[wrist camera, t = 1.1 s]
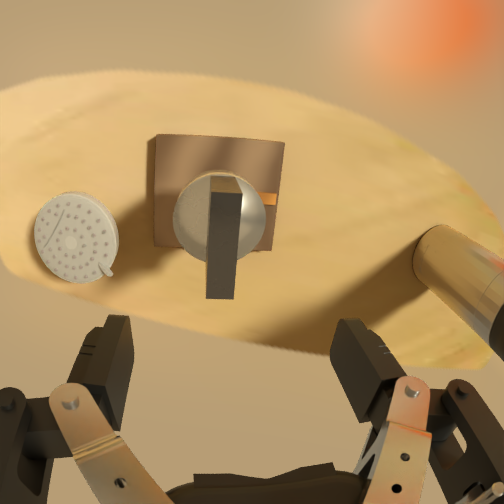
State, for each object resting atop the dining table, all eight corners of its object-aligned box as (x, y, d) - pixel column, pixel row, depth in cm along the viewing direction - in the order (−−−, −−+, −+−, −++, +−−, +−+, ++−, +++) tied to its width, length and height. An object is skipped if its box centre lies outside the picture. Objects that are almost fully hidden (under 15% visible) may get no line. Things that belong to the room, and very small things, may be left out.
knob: (264, 172, 26) (288, 195, 18) (254, 264, 29) (271, 315, 22) (177, 167, 25) (164, 188, 17) (175, 261, 28) (165, 313, 20)
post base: (281, 142, 32) (301, 148, 26) (269, 245, 37) (283, 275, 30) (158, 134, 30) (144, 137, 24) (156, 241, 35) (144, 270, 28)
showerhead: (90, 308, 29) (17, 251, 26) (108, 275, 36) (46, 228, 32) (137, 241, 27) (54, 176, 24) (150, 217, 34) (82, 164, 30)
